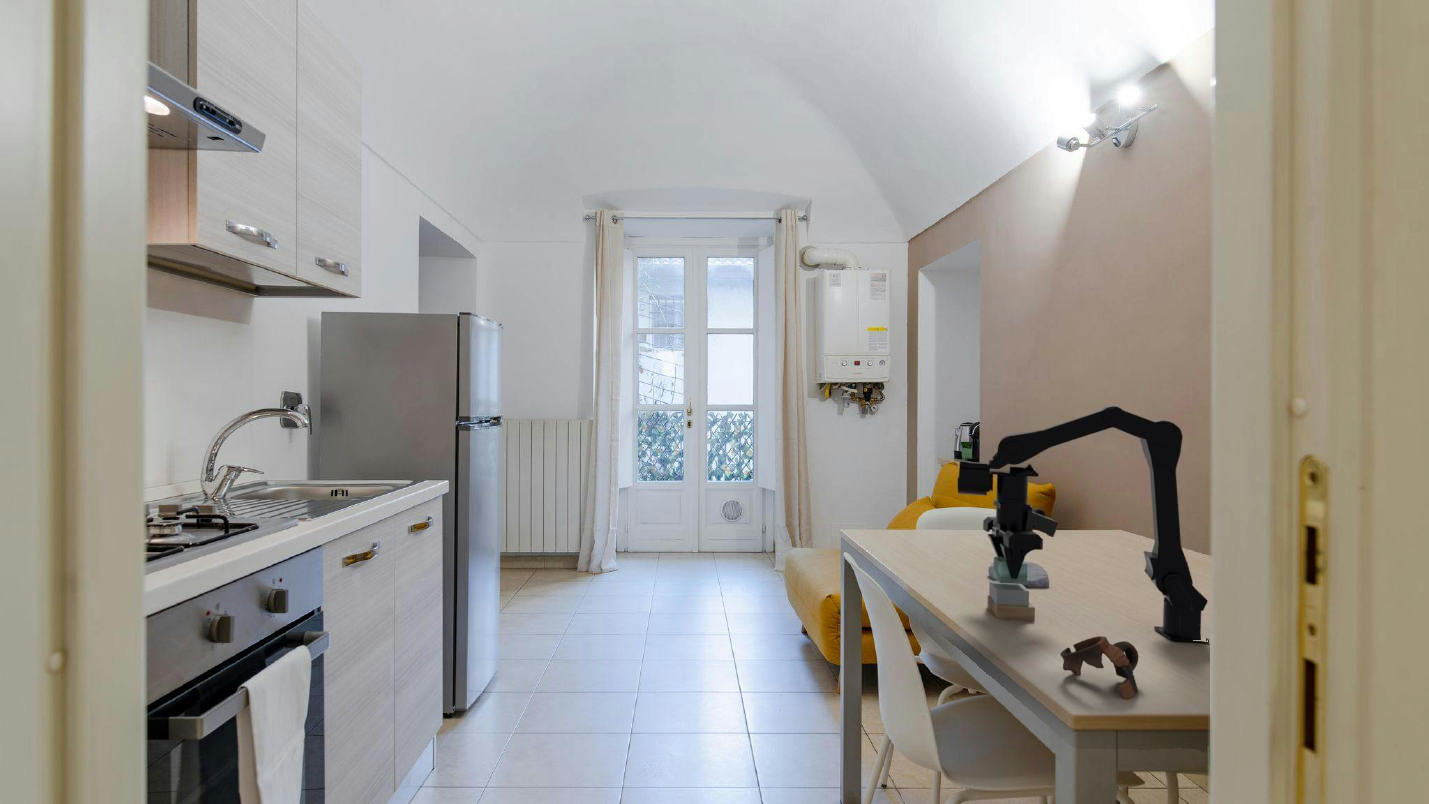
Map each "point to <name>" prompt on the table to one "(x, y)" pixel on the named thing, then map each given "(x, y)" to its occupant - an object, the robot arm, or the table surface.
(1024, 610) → the walnut base block
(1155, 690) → the table surface
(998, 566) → the teal block
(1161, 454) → the robot arm
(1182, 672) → the table surface
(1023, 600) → the grey middle block
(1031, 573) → the stone block
